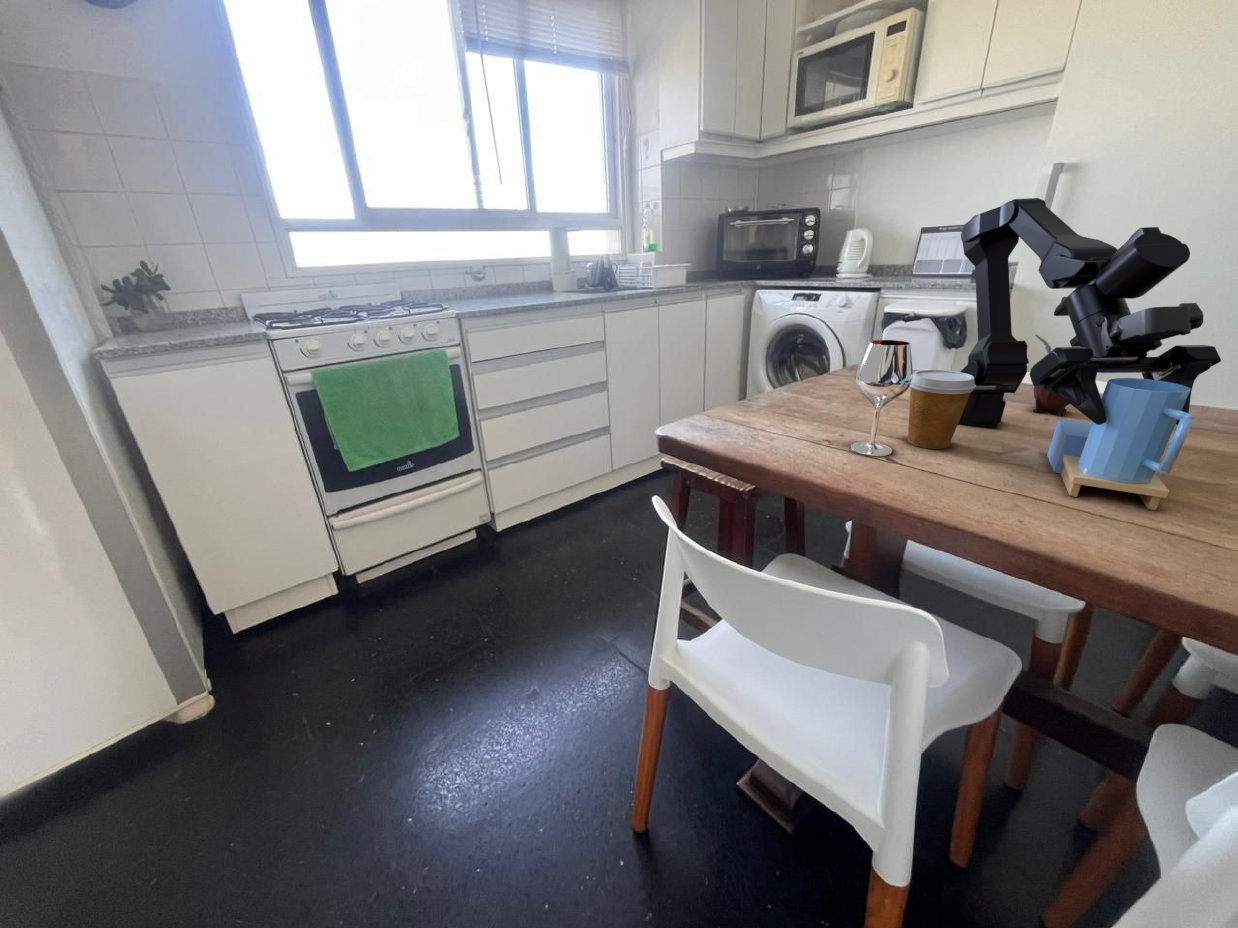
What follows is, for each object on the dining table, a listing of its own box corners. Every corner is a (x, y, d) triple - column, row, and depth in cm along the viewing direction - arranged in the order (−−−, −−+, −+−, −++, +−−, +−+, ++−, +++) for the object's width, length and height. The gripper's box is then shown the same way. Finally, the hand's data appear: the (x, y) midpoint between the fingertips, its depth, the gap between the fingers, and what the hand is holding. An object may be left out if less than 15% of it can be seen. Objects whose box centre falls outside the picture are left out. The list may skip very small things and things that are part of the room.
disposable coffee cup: (955, 437, 88) (972, 370, 84) (964, 455, 80) (983, 383, 76) (895, 431, 92) (908, 367, 87) (898, 448, 84) (912, 379, 79)
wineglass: (895, 461, 79) (917, 348, 72) (840, 453, 83) (857, 345, 76) (899, 445, 85) (920, 340, 78) (848, 438, 89) (864, 337, 82)
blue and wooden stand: (1061, 495, 67) (1076, 454, 64) (1047, 454, 80) (1058, 419, 77) (1165, 513, 61) (1185, 469, 59) (1131, 466, 74) (1147, 429, 72)
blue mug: (1064, 462, 69) (1093, 378, 65) (1119, 462, 69) (1153, 377, 64) (1126, 494, 60) (1165, 399, 55) (1191, 494, 59) (1236, 398, 55)
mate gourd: (1081, 416, 96) (1108, 338, 91) (1040, 417, 97) (1064, 339, 91) (1051, 405, 103) (1074, 332, 98) (1013, 406, 104) (1033, 334, 98)
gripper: (1073, 282, 61) (1115, 391, 55) (1240, 277, 59) (1302, 389, 54) (1014, 337, 71) (1044, 434, 66) (1155, 334, 70) (1199, 433, 64)
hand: (1141, 423), depth 62 cm, fingers open, 9 cm apart
